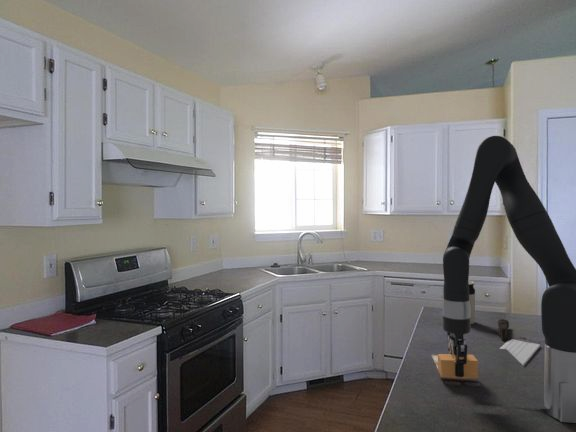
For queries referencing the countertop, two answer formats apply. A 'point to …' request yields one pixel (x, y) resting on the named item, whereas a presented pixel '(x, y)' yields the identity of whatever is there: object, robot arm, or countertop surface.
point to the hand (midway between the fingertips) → (457, 372)
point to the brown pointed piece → (503, 328)
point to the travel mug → (472, 301)
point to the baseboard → (521, 349)
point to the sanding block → (448, 366)
